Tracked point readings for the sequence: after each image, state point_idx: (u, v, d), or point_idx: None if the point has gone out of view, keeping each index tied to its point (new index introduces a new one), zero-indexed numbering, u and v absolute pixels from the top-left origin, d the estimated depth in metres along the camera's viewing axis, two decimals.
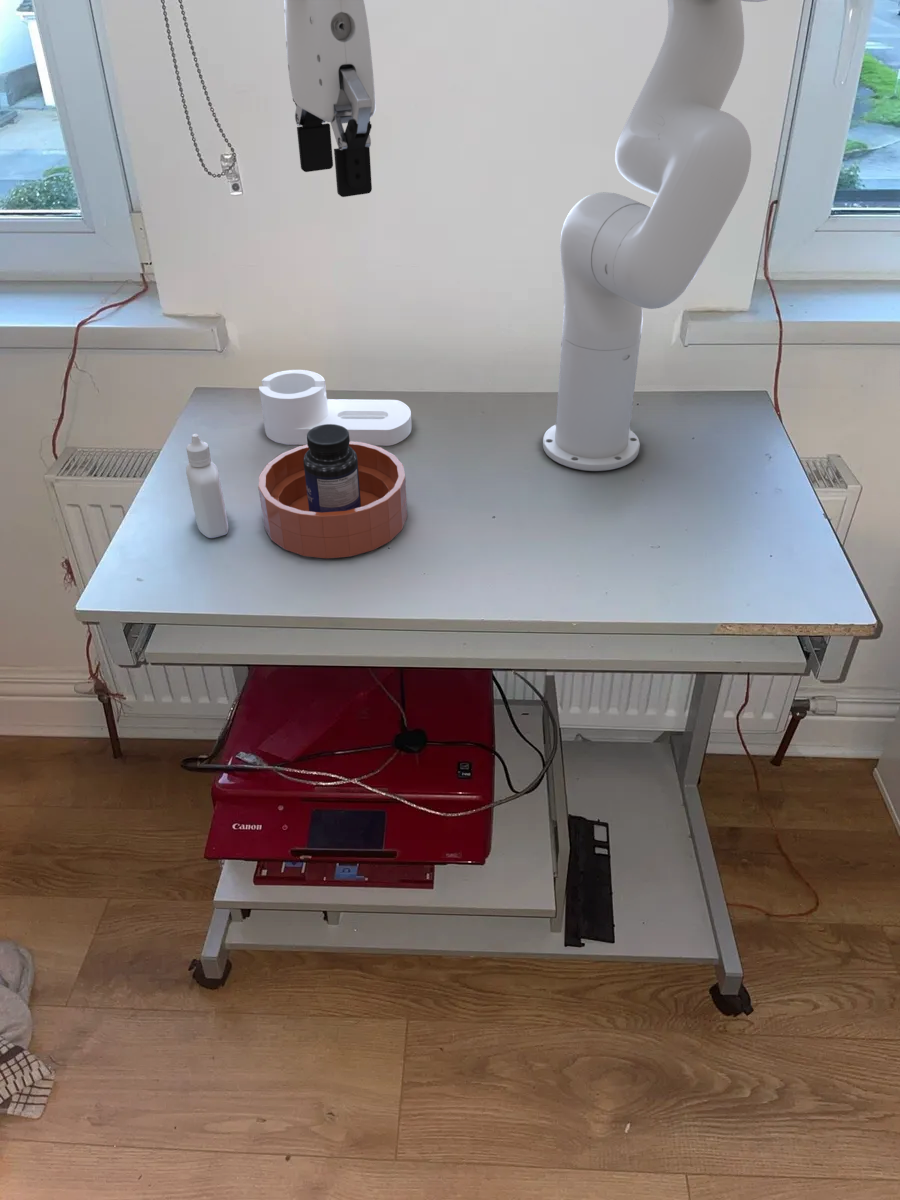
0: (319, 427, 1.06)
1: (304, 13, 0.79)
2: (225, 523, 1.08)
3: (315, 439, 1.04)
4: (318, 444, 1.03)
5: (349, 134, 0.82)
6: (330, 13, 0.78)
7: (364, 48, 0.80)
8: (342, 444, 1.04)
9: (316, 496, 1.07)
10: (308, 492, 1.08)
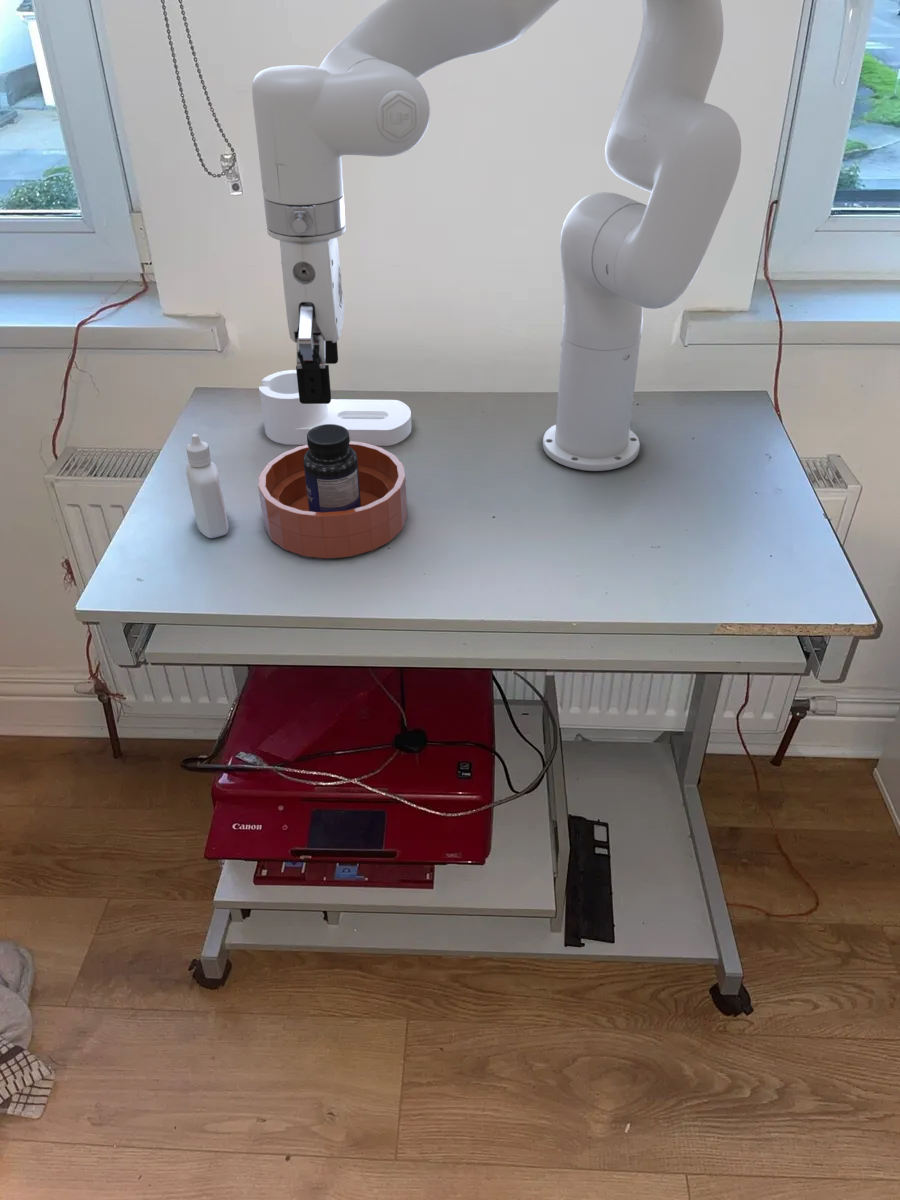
0: (319, 427, 1.06)
1: None
2: (225, 523, 1.08)
3: (315, 439, 1.04)
4: (318, 444, 1.03)
5: None
6: (293, 261, 0.88)
7: (324, 290, 0.90)
8: (342, 444, 1.04)
9: (316, 496, 1.07)
10: (308, 492, 1.08)
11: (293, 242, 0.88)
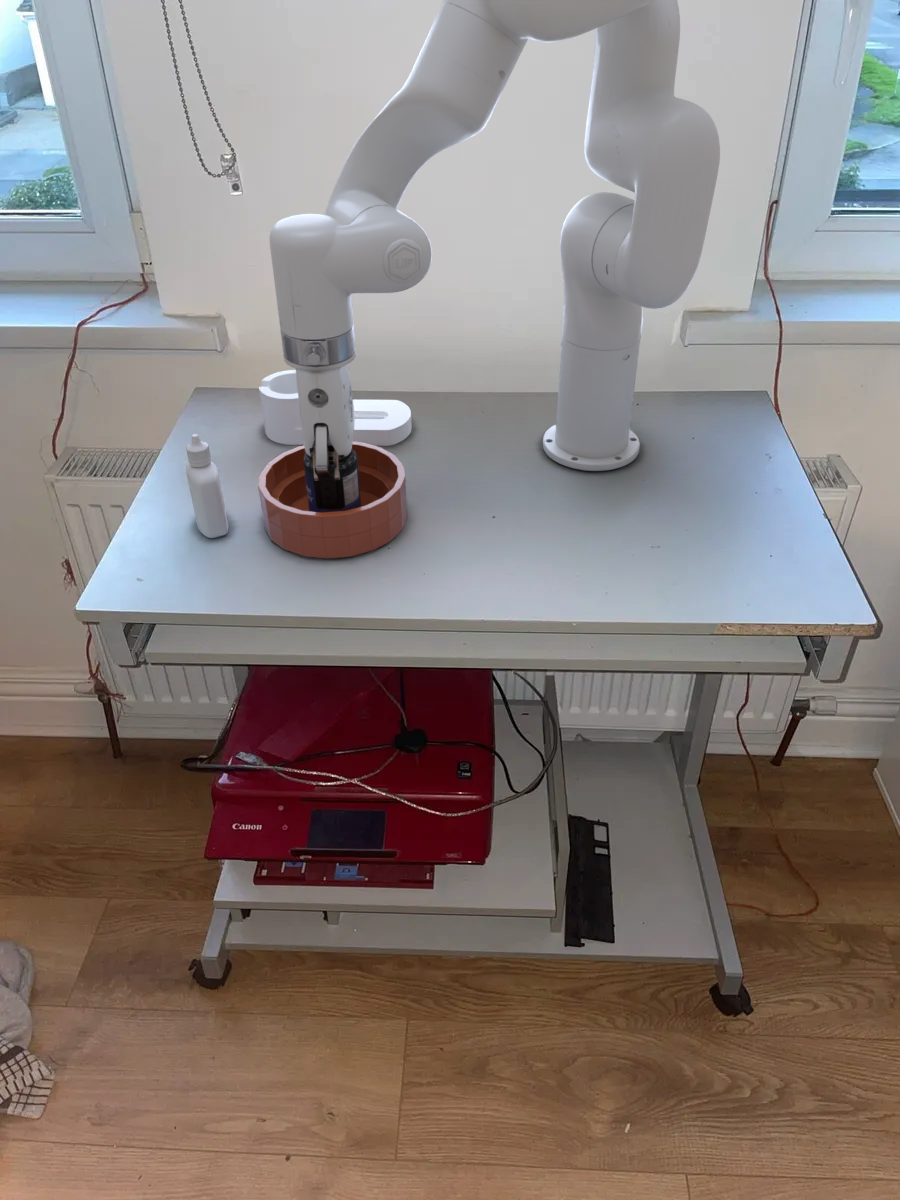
0: None
1: None
2: (225, 523, 1.08)
3: None
4: None
5: None
6: (308, 388, 0.96)
7: (336, 412, 0.98)
8: None
9: None
10: (308, 492, 1.08)
11: (308, 370, 0.96)
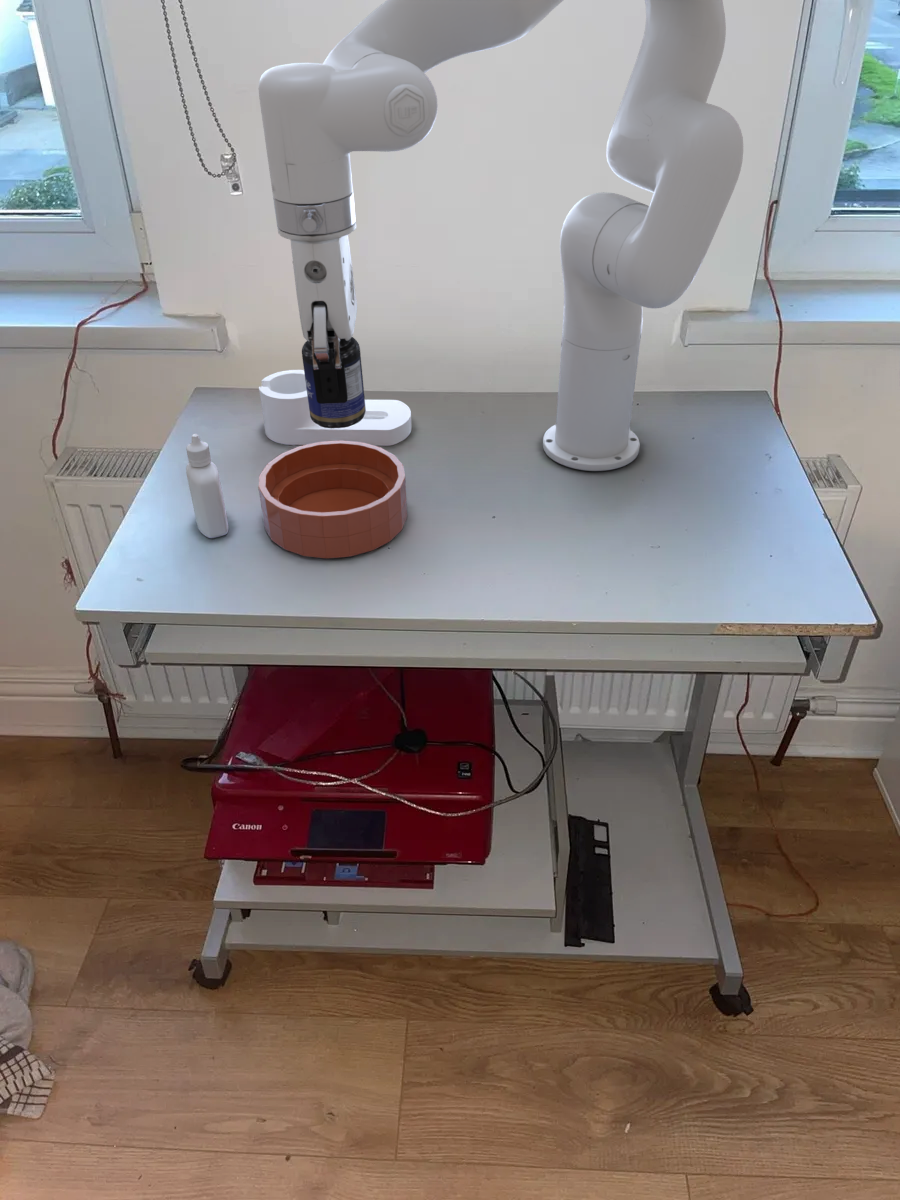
0: None
1: None
2: (225, 523, 1.08)
3: None
4: None
5: None
6: (304, 260, 0.88)
7: (335, 289, 0.90)
8: None
9: None
10: (307, 387, 1.00)
11: (304, 241, 0.88)
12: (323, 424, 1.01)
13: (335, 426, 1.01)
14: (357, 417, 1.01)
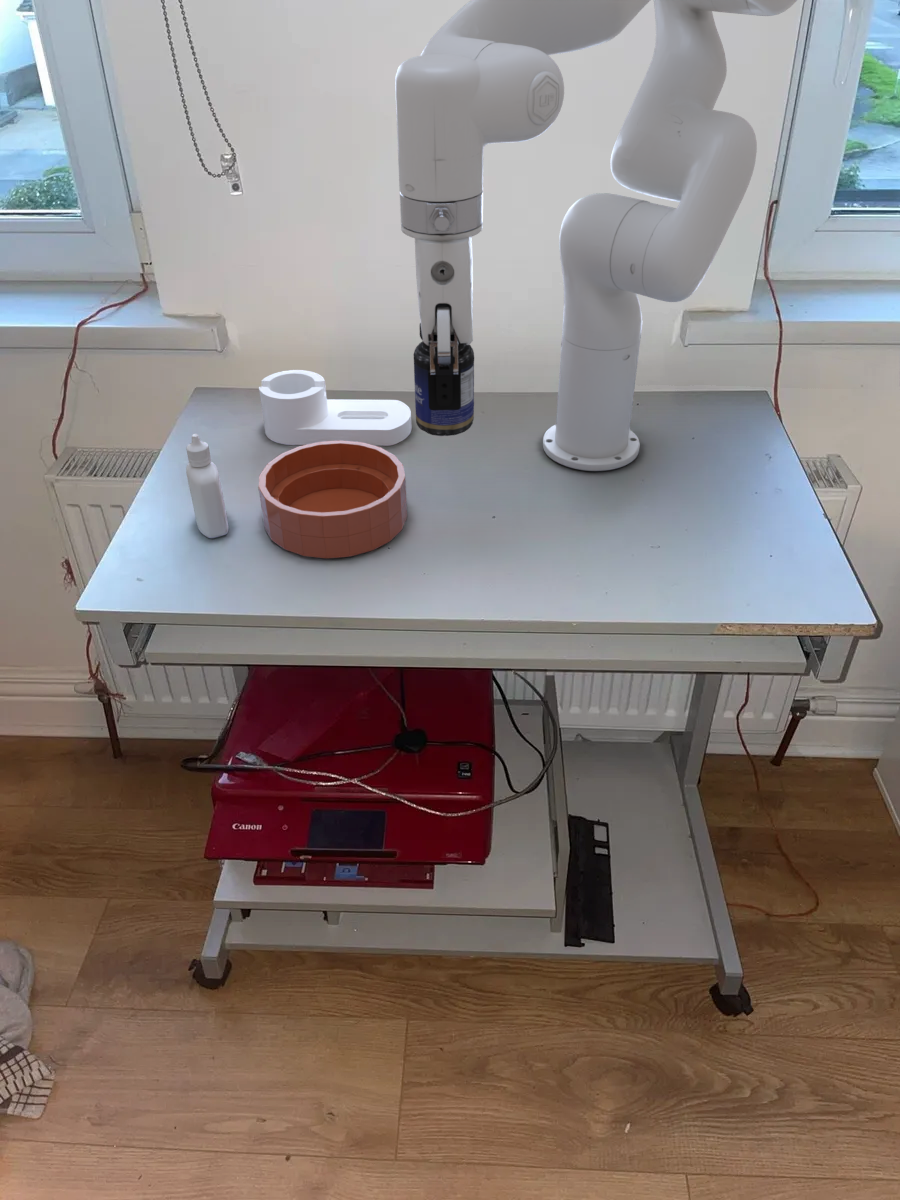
0: None
1: (416, 254, 0.86)
2: (225, 523, 1.08)
3: None
4: None
5: None
6: (431, 261, 0.84)
7: (462, 291, 0.86)
8: None
9: (428, 396, 0.95)
10: (417, 392, 0.96)
11: (432, 240, 0.84)
12: (432, 431, 0.97)
13: (444, 434, 0.97)
14: (467, 425, 0.97)
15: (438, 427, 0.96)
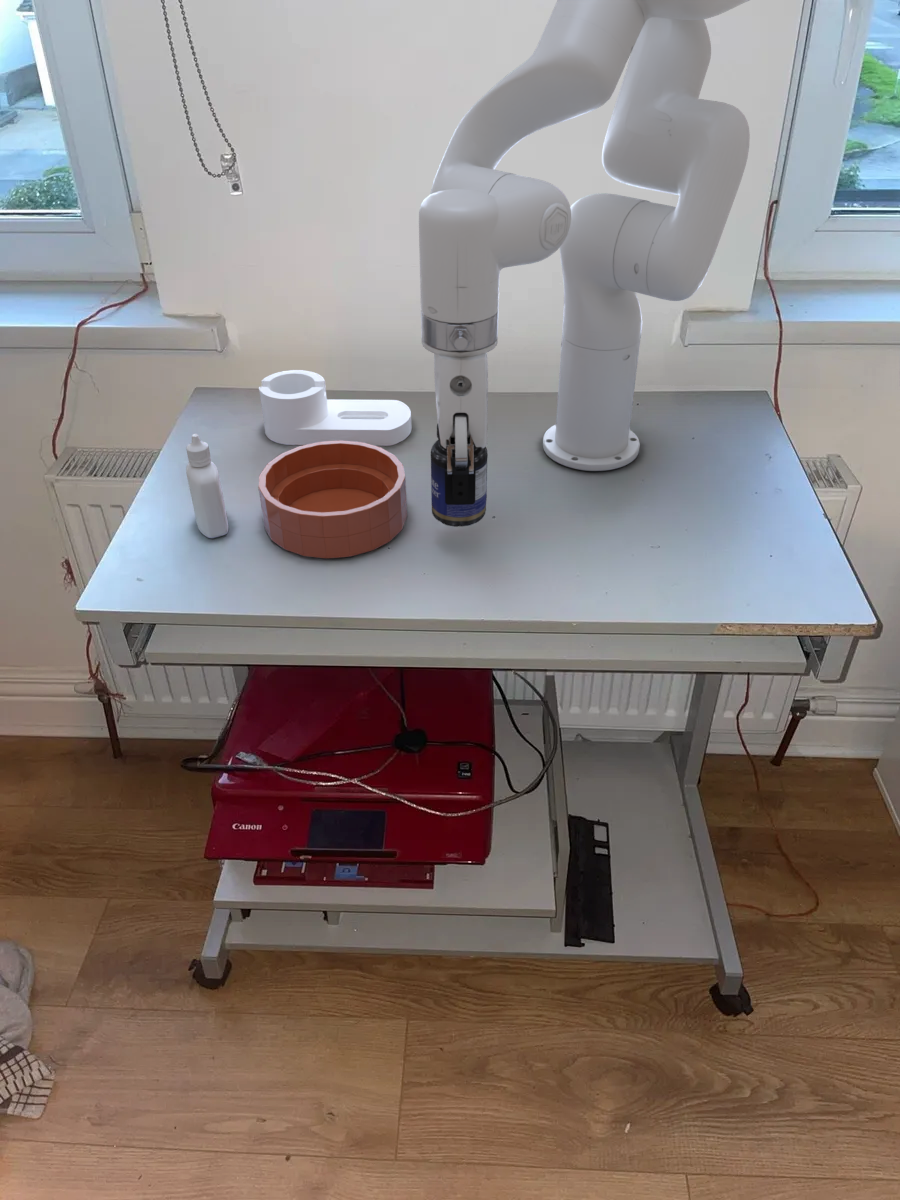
0: None
1: (435, 366, 0.92)
2: (225, 523, 1.08)
3: None
4: None
5: None
6: (451, 375, 0.91)
7: (478, 401, 0.92)
8: None
9: (444, 491, 1.01)
10: (434, 487, 1.02)
11: (451, 356, 0.90)
12: (447, 522, 1.03)
13: (459, 524, 1.03)
14: (480, 516, 1.04)
15: (453, 519, 1.03)
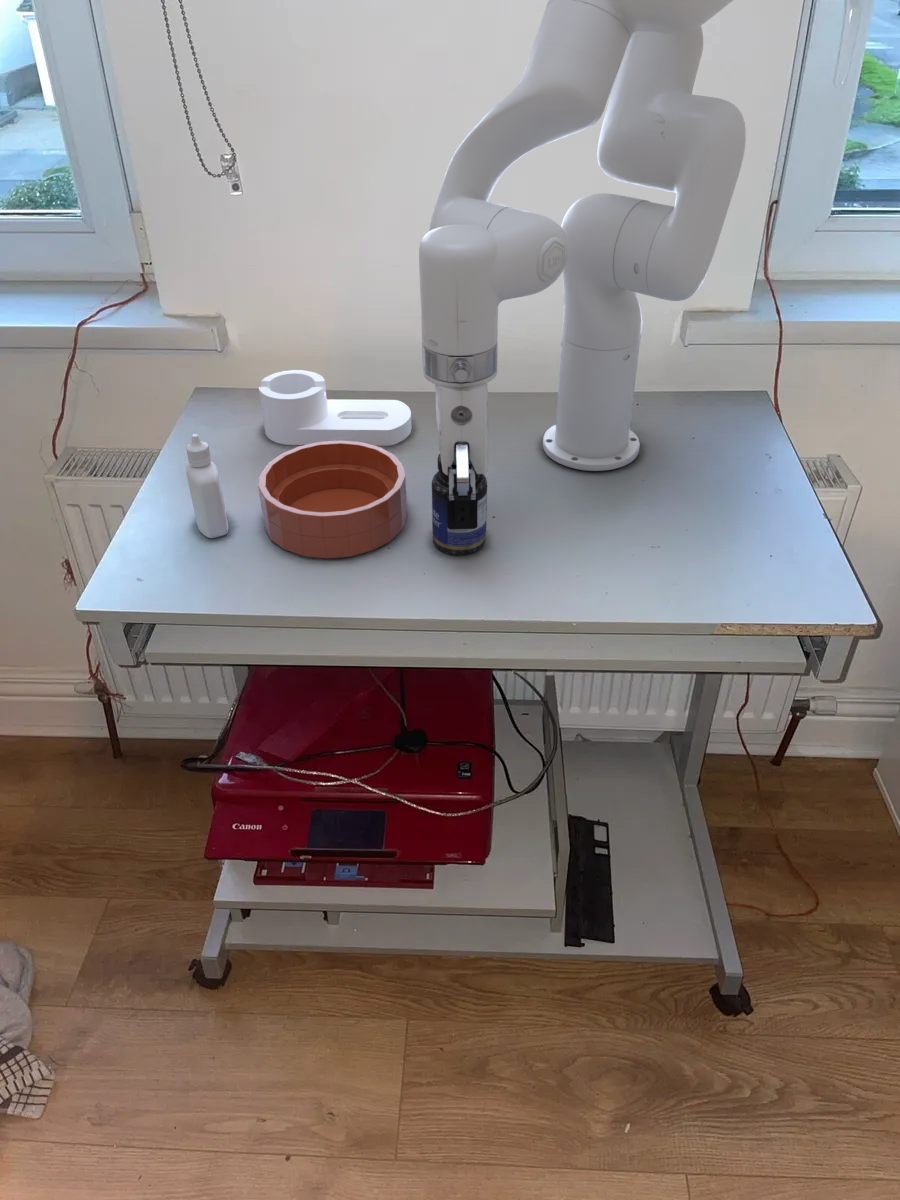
0: None
1: (437, 396, 0.94)
2: (225, 523, 1.08)
3: None
4: None
5: None
6: (451, 405, 0.93)
7: (479, 431, 0.94)
8: None
9: (445, 521, 1.03)
10: (435, 517, 1.04)
11: (452, 387, 0.92)
12: (447, 551, 1.06)
13: (459, 553, 1.05)
14: (480, 544, 1.06)
15: (454, 547, 1.05)
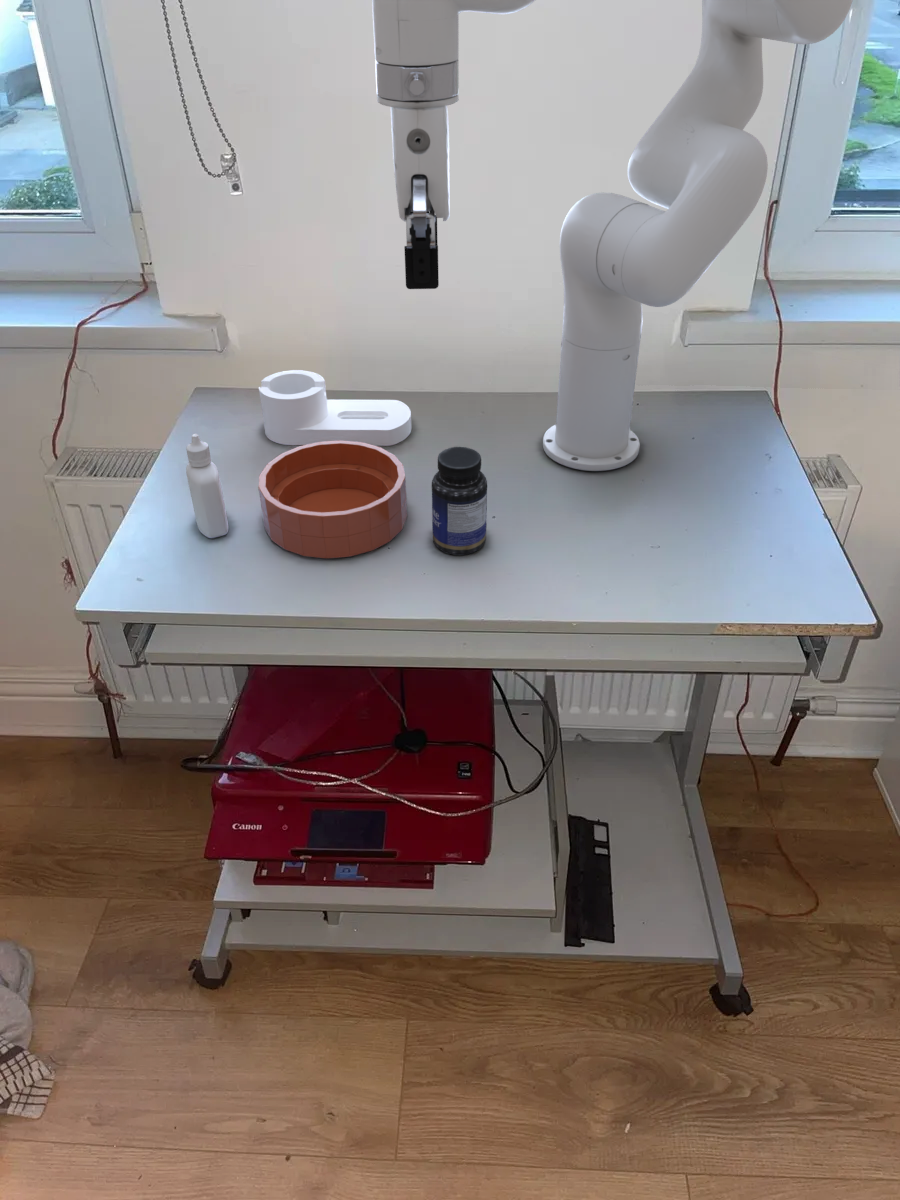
0: (449, 450, 1.02)
1: (392, 125, 0.86)
2: (225, 523, 1.08)
3: (448, 463, 1.00)
4: (451, 468, 1.00)
5: None
6: (407, 128, 0.84)
7: (438, 161, 0.86)
8: (475, 468, 1.00)
9: (445, 521, 1.03)
10: (435, 517, 1.04)
11: (407, 108, 0.84)
12: (447, 551, 1.06)
13: (459, 553, 1.05)
14: (480, 544, 1.06)
15: (454, 547, 1.05)
